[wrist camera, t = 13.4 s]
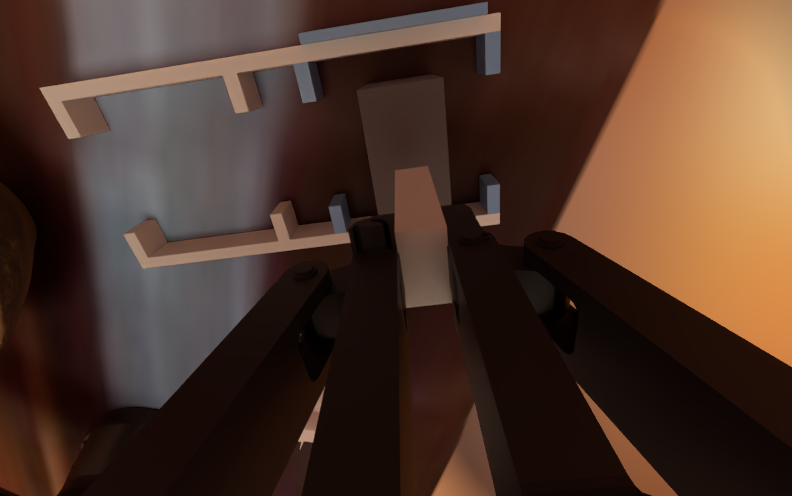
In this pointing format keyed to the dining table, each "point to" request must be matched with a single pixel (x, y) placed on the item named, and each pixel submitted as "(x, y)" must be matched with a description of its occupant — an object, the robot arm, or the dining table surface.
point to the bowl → (14, 259)
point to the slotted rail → (147, 238)
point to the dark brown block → (405, 133)
